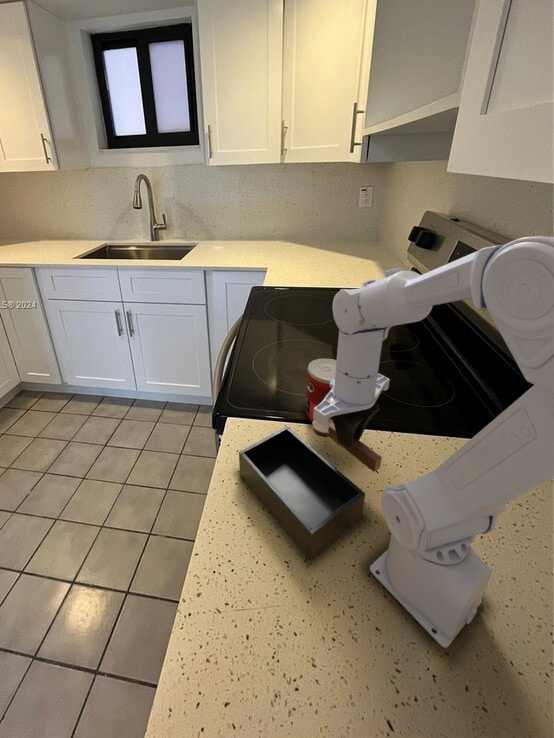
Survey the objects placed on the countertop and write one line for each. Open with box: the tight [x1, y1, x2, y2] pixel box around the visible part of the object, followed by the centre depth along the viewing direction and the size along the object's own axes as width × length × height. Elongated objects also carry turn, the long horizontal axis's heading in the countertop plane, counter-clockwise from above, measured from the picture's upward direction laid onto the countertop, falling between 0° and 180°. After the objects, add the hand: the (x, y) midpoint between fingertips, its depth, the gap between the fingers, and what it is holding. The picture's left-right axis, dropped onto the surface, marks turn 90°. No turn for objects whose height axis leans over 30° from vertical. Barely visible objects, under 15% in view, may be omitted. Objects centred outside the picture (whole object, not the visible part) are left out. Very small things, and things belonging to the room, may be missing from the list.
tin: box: [238, 425, 366, 561], centre depth 53 cm, size 16×10×5 cm, turn 33°
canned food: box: [305, 358, 337, 423], centre depth 68 cm, size 8×8×11 cm
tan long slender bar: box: [311, 418, 382, 473], centre depth 57 cm, size 12×4×2 cm, turn 33°
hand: (348, 440), depth 56 cm, fingers closed on tan long slender bar, 1 cm apart
